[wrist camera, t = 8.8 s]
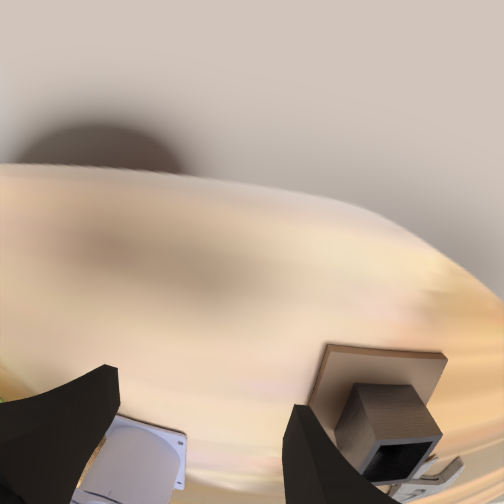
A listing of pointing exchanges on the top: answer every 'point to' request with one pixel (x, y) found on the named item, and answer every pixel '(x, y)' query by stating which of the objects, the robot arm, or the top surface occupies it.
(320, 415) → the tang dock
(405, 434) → the hollow square tube
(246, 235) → the top surface
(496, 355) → the top surface
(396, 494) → the adjustable wrench
